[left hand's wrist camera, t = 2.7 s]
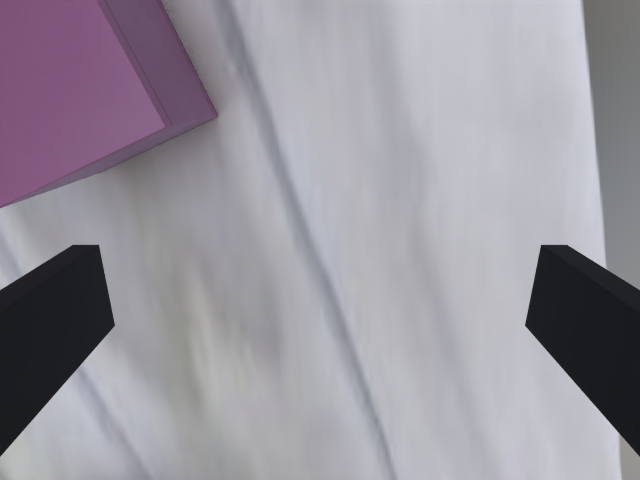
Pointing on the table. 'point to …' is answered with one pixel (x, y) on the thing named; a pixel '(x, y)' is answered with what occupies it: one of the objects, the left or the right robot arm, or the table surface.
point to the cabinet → (88, 89)
